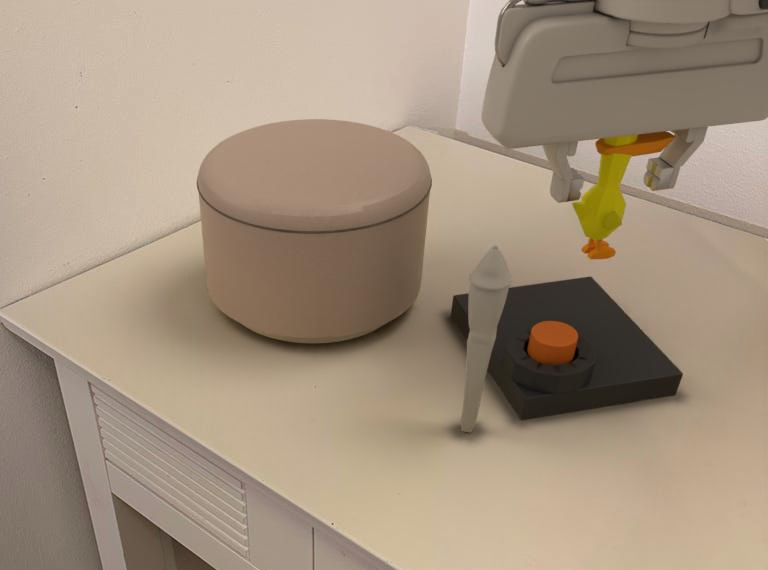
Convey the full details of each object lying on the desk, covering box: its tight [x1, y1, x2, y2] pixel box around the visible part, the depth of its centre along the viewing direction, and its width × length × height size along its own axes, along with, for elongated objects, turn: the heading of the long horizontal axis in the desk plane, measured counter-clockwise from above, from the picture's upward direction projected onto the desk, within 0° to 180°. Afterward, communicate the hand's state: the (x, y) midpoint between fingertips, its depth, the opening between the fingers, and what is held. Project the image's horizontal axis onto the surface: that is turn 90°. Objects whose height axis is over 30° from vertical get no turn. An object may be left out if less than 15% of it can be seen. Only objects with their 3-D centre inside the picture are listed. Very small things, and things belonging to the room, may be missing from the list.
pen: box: [460, 244, 513, 433], centre depth 57 cm, size 2×3×14 cm
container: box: [196, 118, 433, 344], centre depth 71 cm, size 18×18×12 cm
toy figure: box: [571, 131, 676, 260], centre depth 62 cm, size 7×4×12 cm, turn 106°
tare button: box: [527, 321, 578, 365], centre depth 62 cm, size 3×3×2 cm
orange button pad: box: [450, 276, 684, 420], centre depth 67 cm, size 12×14×4 cm
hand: (611, 192), depth 63 cm, fingers closed on toy figure, 6 cm apart
